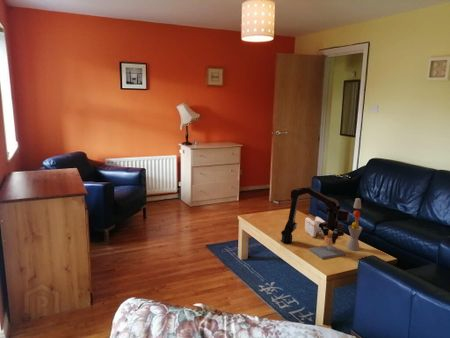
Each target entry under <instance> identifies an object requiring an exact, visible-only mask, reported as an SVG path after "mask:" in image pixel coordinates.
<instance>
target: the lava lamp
mask: <svg viewBox="0 0 450 338" xmlns="http://www.w3.org/2000/svg"><path fill="white" fill-rule="evenodd" d="M354 200H355V201H354V203H353V209H355V210H354V211H353V216H354V220H355V221H354V222H352V224H350V225H347V226H348V230H349V235H350V238H349V240H348V243H347V245H346V249H347V250H350V251H354V252H359V251H360V250H361V246H360V243H359V236H360V234H361V232H362V230H363V227H362V226H360V225H359V220H360V215H361V212H360V210H359V209H362V201H361V198H359V197H358V198H357V197H356V198H355V199H354Z"/></svg>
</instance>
